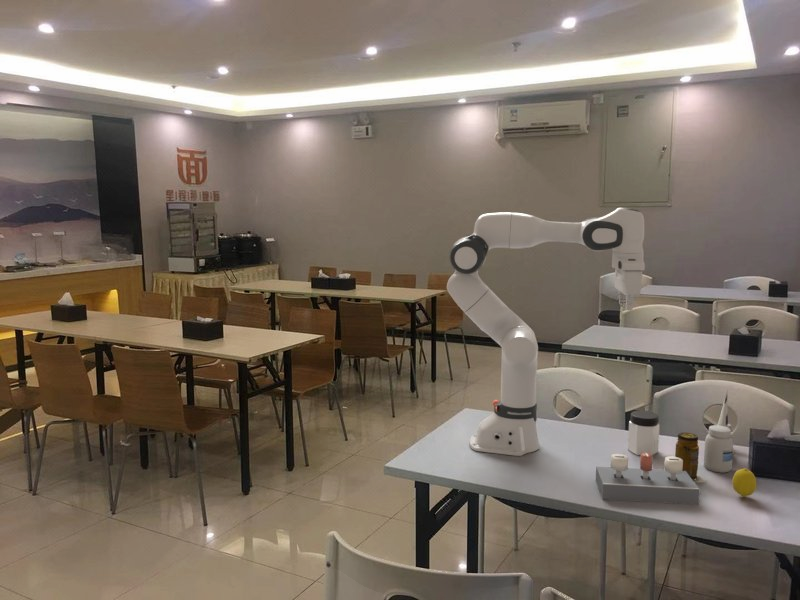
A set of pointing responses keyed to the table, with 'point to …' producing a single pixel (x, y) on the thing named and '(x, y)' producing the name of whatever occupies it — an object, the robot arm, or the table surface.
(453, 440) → the table surface
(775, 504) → the table surface
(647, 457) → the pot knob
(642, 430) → the jar
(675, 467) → the knob
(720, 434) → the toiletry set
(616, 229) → the robot arm
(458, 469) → the table surface
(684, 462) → the condiment
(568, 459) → the table surface
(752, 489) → the lemon
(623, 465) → the knob
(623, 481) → the mount
